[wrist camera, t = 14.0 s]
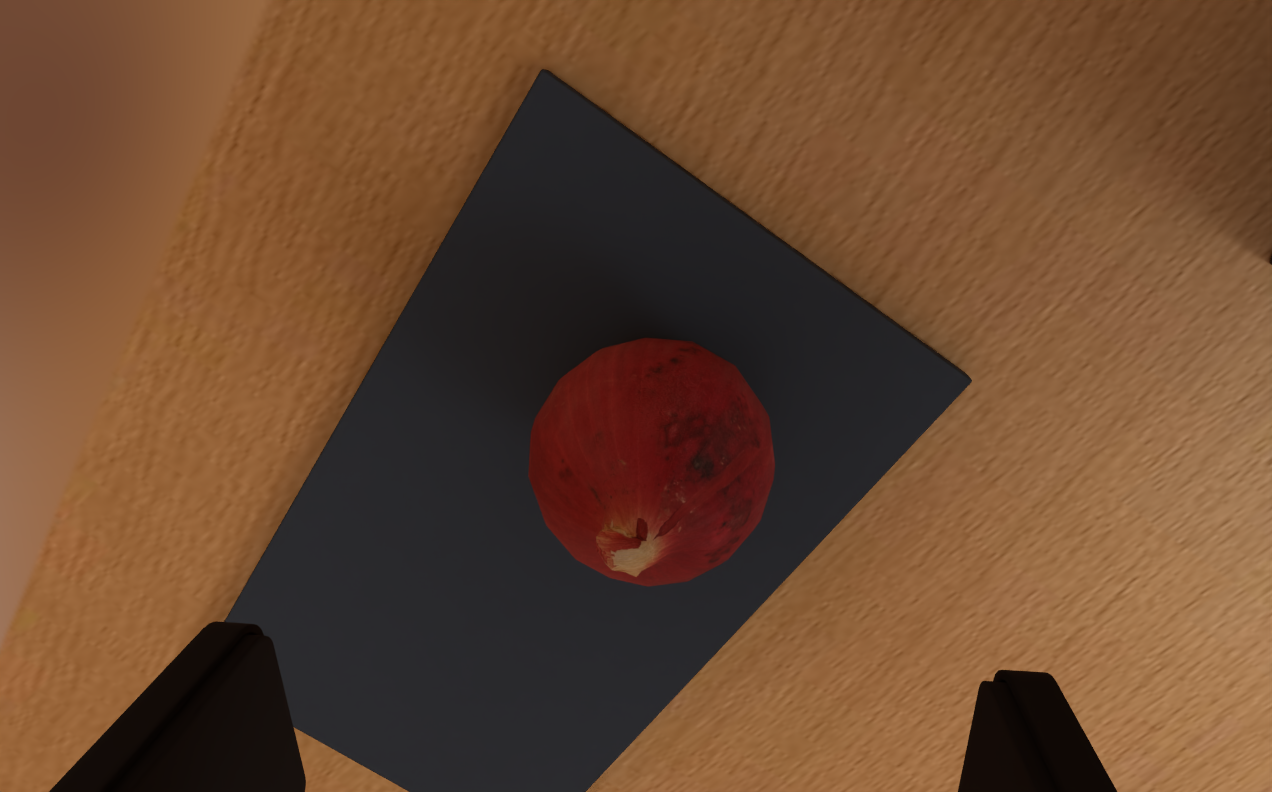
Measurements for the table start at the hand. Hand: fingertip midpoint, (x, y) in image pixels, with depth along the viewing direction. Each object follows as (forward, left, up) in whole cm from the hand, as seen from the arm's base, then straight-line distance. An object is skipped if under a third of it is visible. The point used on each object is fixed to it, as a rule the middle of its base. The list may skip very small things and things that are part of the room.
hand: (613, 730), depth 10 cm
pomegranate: (0, 0, -13) cm, 13 cm away
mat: (+5, -4, -13) cm, 15 cm away
